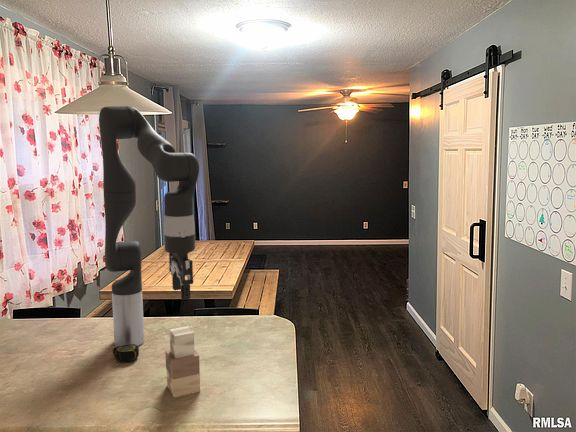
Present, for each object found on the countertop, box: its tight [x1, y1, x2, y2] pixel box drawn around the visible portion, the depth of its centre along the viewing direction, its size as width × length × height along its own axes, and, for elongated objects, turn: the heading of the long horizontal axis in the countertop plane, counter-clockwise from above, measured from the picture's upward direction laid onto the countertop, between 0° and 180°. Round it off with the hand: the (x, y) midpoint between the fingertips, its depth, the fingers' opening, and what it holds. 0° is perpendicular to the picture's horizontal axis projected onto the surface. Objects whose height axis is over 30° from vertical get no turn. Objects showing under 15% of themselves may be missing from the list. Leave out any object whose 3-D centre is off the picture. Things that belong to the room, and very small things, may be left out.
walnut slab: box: [165, 349, 201, 379], centre depth 131 cm, size 7×7×5 cm
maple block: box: [169, 326, 195, 358], centre depth 130 cm, size 5×5×6 cm
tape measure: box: [112, 344, 140, 362], centre depth 149 cm, size 7×7×4 cm
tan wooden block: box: [166, 370, 201, 398], centre depth 131 cm, size 7×7×5 cm
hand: (181, 294), depth 128 cm, fingers open, 8 cm apart
